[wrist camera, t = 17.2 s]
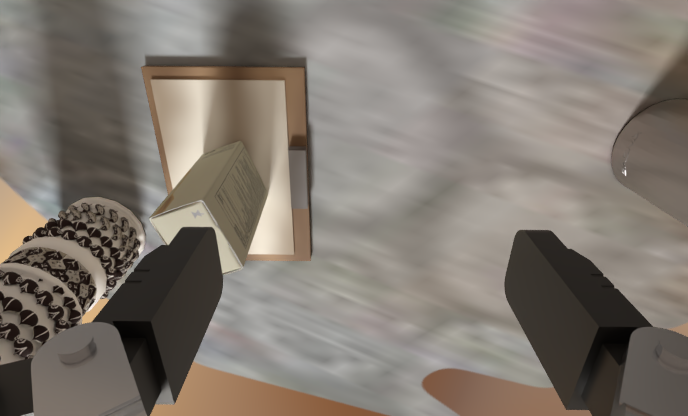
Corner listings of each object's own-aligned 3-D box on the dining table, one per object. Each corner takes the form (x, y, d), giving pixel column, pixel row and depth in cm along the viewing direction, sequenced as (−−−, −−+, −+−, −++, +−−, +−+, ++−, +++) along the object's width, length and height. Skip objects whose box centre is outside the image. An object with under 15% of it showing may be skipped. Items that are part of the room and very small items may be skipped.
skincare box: (200, 153, 38) (142, 214, 27) (242, 138, 37) (200, 194, 26) (232, 210, 40) (190, 287, 29) (271, 197, 40) (244, 270, 29)
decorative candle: (41, 205, 41) (-312, 440, 19) (122, 183, 40) (-154, 406, 18) (89, 274, 45) (-156, 535, 23) (164, 256, 44) (-19, 512, 22)
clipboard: (304, 67, 35) (302, 70, 33) (311, 256, 44) (309, 267, 42) (145, 65, 35) (134, 68, 33) (184, 255, 44) (178, 266, 42)
